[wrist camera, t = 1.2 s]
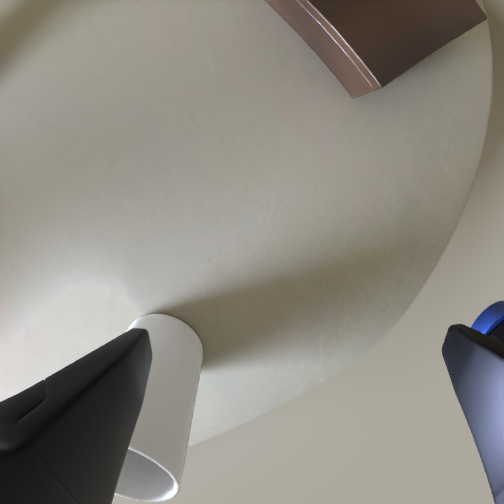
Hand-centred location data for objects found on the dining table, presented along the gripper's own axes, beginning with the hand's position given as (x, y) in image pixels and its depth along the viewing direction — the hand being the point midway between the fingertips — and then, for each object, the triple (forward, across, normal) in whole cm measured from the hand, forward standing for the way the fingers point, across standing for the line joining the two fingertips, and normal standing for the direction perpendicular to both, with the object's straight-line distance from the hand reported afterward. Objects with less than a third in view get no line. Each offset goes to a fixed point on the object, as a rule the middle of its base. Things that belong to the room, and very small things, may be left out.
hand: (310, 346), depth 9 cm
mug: (+13, +9, +11) cm, 20 cm away
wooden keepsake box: (+13, -5, -15) cm, 21 cm away
